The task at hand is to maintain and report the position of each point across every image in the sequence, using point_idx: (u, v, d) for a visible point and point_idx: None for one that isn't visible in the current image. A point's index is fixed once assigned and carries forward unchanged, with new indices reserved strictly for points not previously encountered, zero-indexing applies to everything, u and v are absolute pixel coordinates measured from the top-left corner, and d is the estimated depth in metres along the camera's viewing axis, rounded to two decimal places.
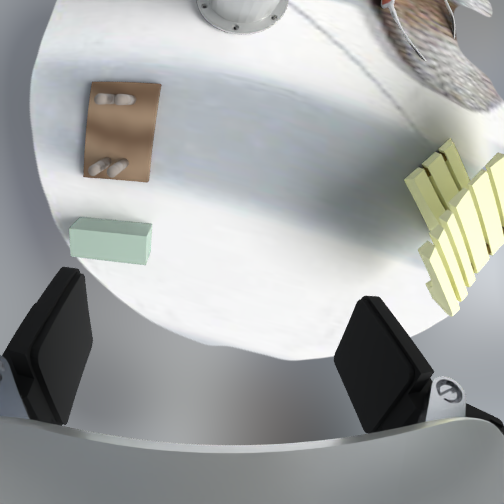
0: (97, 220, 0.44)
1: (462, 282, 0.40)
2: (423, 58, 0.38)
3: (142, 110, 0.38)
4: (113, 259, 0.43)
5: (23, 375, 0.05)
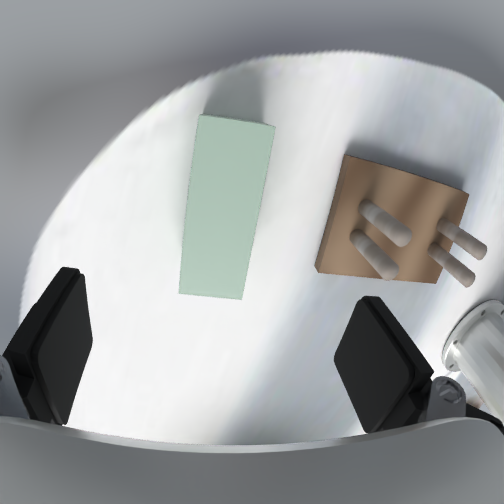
0: None
1: None
2: None
3: (416, 264, 0.28)
4: (189, 228, 0.20)
5: (23, 375, 0.05)
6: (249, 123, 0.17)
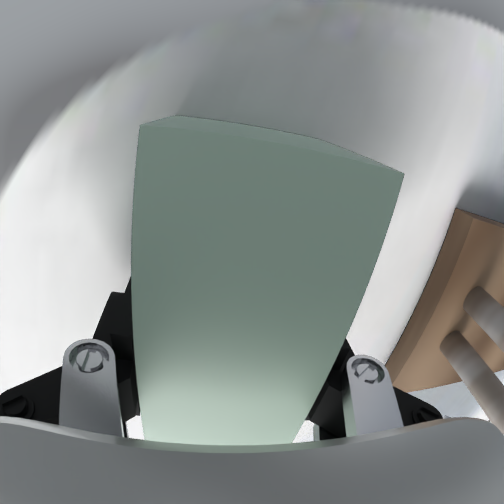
0: None
1: None
2: None
3: (502, 354, 0.15)
4: (153, 420, 0.07)
5: (120, 358, 0.07)
6: (327, 157, 0.05)
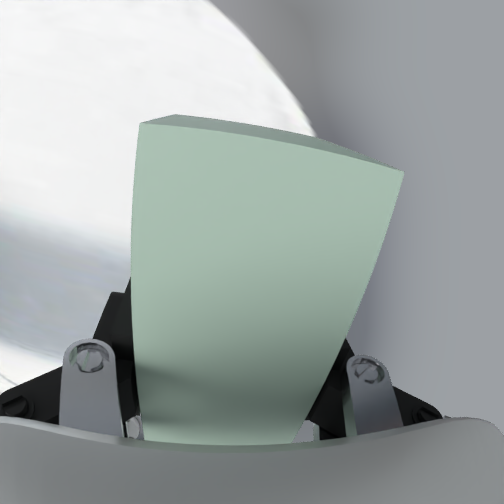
0: None
1: None
2: None
3: None
4: (153, 419, 0.07)
5: (120, 358, 0.07)
6: (327, 155, 0.05)
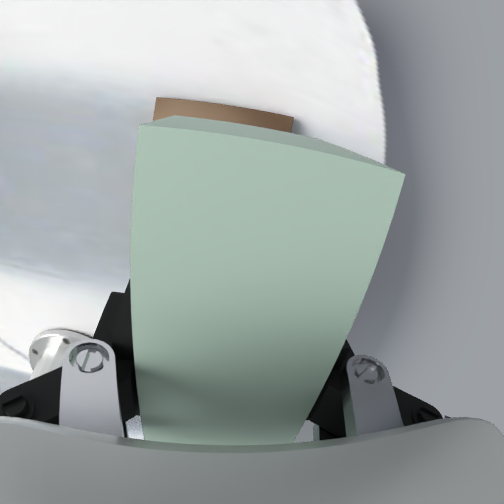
0: None
1: None
2: None
3: None
4: (153, 421, 0.07)
5: (120, 359, 0.07)
6: (328, 158, 0.05)
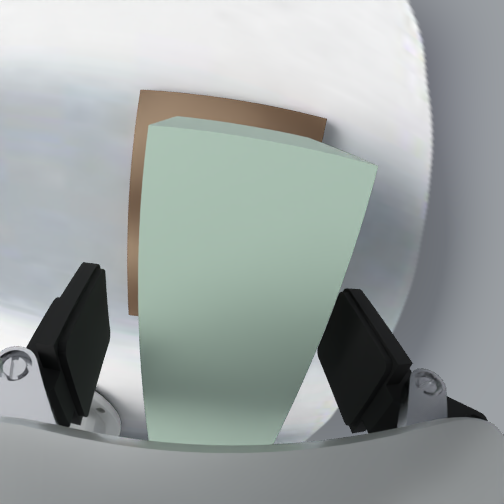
0: None
1: None
2: None
3: None
4: (154, 395, 0.08)
5: (49, 368, 0.06)
6: (308, 152, 0.06)
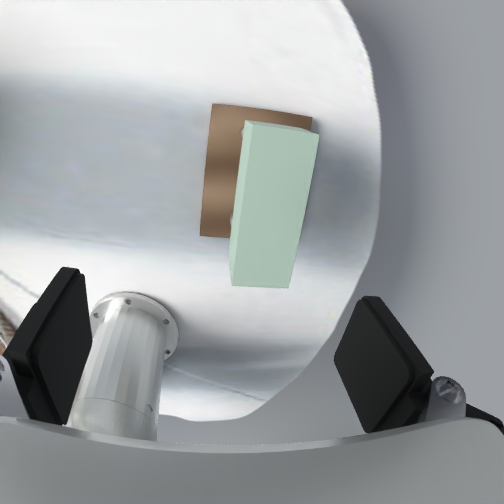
0: None
1: None
2: None
3: (220, 202, 0.33)
4: (243, 226, 0.22)
5: (23, 375, 0.05)
6: (297, 132, 0.19)
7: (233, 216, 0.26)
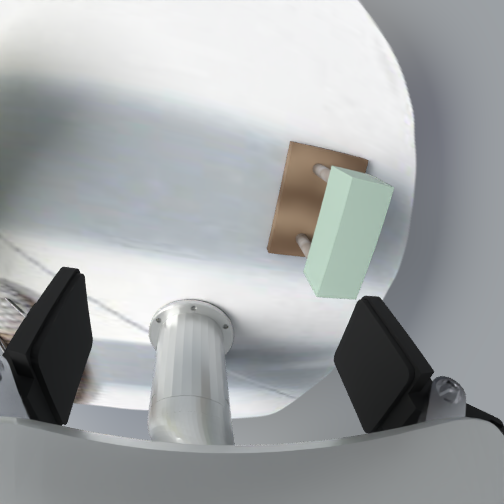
0: None
1: None
2: (8, 301, 0.39)
3: (289, 226, 0.39)
4: (334, 252, 0.28)
5: (23, 375, 0.05)
6: (380, 184, 0.26)
7: (314, 241, 0.33)
